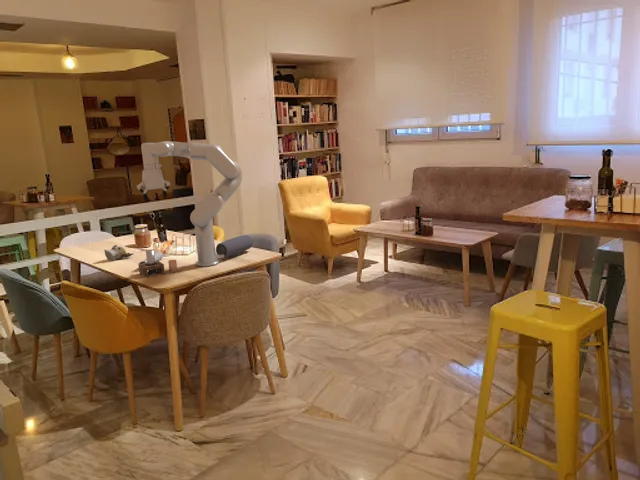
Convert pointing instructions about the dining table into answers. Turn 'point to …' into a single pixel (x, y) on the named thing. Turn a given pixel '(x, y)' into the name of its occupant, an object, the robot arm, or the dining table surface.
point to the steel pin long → (150, 261)
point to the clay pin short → (172, 266)
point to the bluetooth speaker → (234, 246)
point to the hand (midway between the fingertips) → (155, 199)
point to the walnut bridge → (144, 268)
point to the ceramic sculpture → (116, 253)
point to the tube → (157, 257)
